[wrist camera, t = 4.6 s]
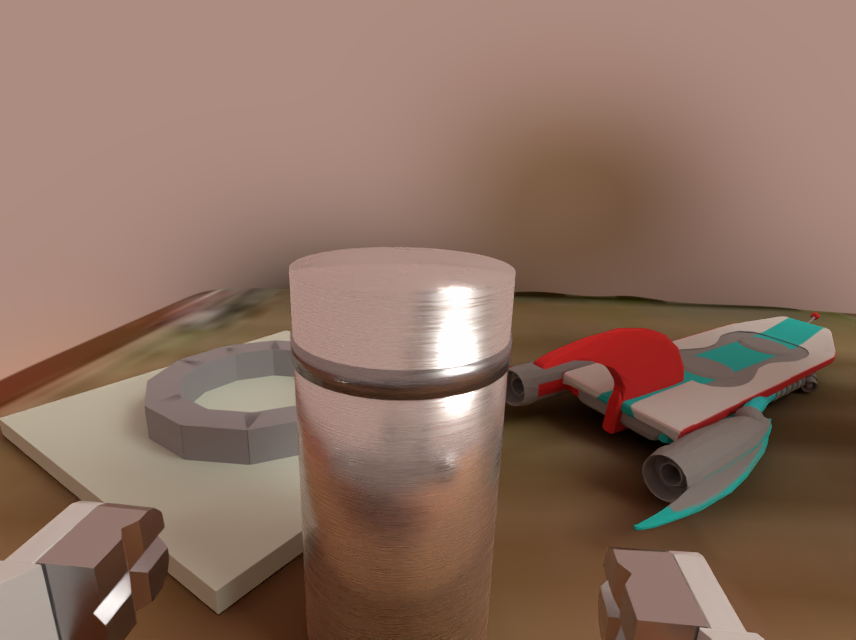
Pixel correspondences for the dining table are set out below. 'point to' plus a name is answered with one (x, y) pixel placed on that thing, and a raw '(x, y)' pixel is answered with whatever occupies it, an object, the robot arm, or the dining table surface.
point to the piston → (399, 437)
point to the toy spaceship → (685, 397)
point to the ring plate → (189, 459)
